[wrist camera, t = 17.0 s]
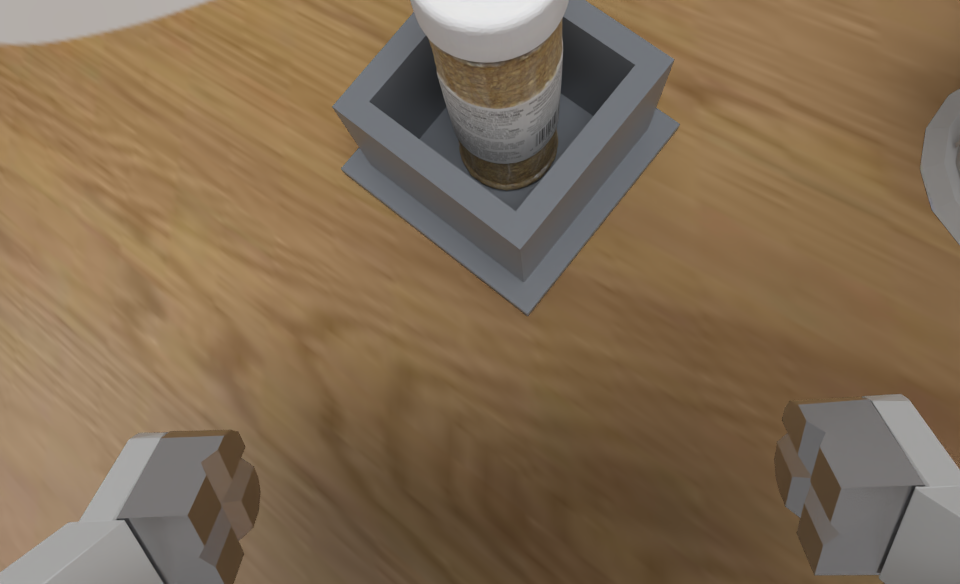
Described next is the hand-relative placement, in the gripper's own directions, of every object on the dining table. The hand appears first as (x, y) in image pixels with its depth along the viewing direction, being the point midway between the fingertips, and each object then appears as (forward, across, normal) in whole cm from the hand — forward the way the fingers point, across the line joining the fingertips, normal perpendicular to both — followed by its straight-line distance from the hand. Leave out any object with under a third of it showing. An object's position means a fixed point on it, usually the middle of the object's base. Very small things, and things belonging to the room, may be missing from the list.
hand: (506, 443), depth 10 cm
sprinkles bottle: (+22, 0, +5) cm, 23 cm away
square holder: (+22, 0, +5) cm, 23 cm away
